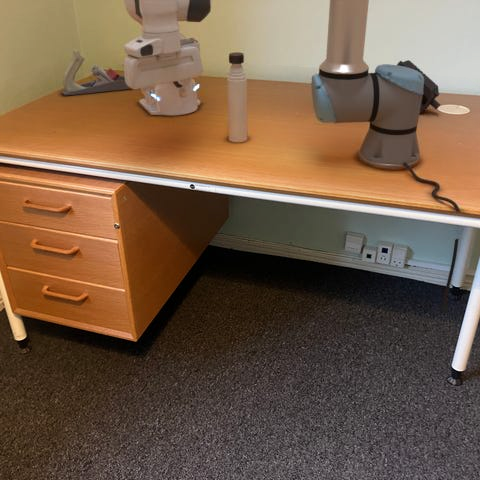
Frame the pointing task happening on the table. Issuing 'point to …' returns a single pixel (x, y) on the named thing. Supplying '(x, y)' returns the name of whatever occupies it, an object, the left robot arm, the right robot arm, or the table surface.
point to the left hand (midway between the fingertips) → (167, 100)
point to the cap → (236, 58)
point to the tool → (425, 88)
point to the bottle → (237, 103)
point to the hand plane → (101, 84)
